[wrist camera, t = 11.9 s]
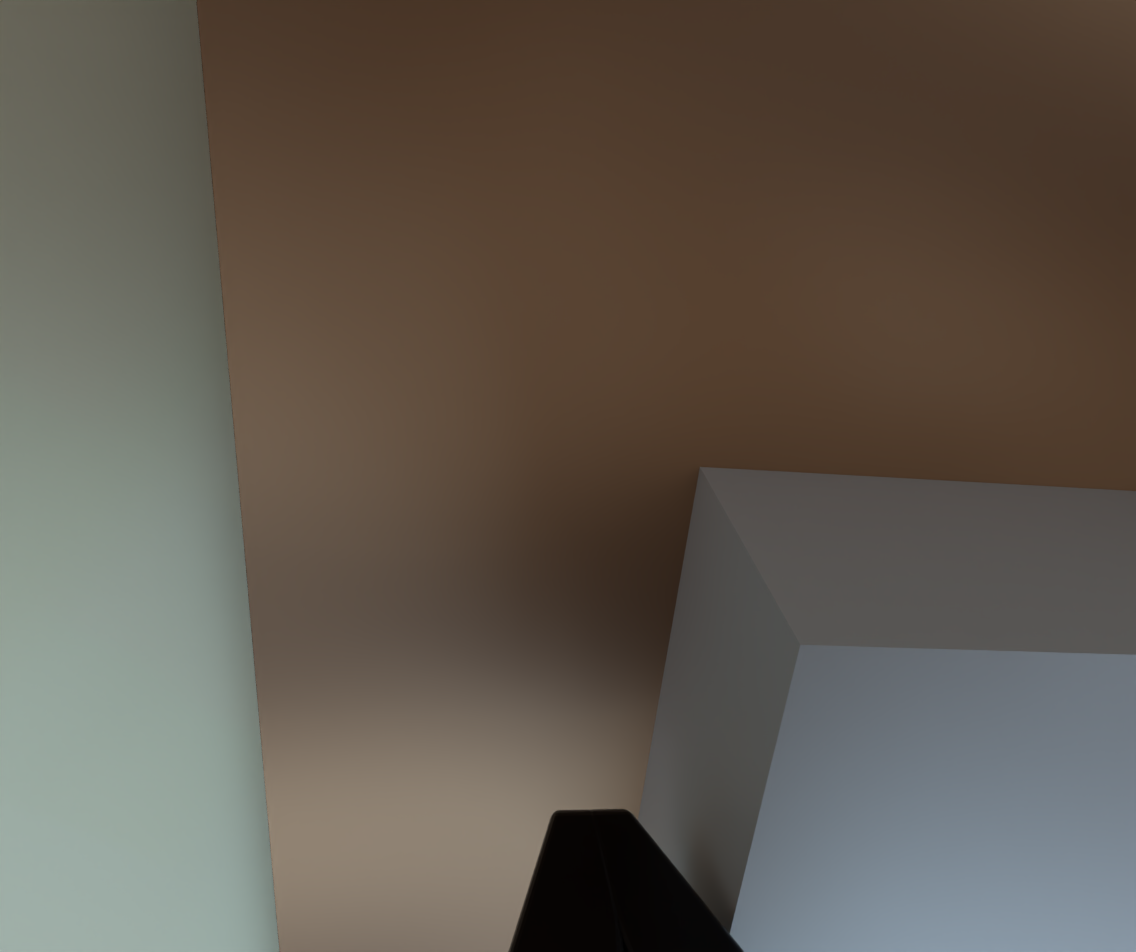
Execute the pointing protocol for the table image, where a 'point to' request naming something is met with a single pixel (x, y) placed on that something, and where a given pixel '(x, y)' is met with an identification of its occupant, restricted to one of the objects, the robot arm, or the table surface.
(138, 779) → the table surface
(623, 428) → the board
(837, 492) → the blue-grey rectangular block
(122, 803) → the table surface
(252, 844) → the table surface
